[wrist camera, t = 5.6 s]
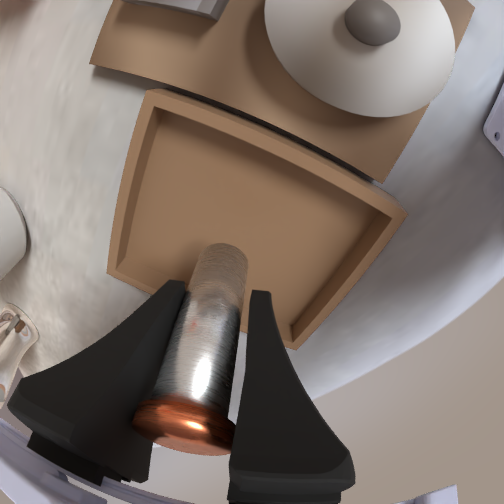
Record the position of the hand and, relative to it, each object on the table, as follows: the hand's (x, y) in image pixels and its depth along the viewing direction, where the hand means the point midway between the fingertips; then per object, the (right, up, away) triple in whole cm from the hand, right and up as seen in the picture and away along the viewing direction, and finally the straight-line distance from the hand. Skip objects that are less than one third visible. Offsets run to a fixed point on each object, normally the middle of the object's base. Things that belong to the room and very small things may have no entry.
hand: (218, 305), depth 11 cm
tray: (+1, +3, +5) cm, 6 cm away
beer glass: (-27, -6, +15) cm, 32 cm away
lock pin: (0, +2, +2) cm, 2 cm away
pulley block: (+3, +13, -2) cm, 14 cm away
